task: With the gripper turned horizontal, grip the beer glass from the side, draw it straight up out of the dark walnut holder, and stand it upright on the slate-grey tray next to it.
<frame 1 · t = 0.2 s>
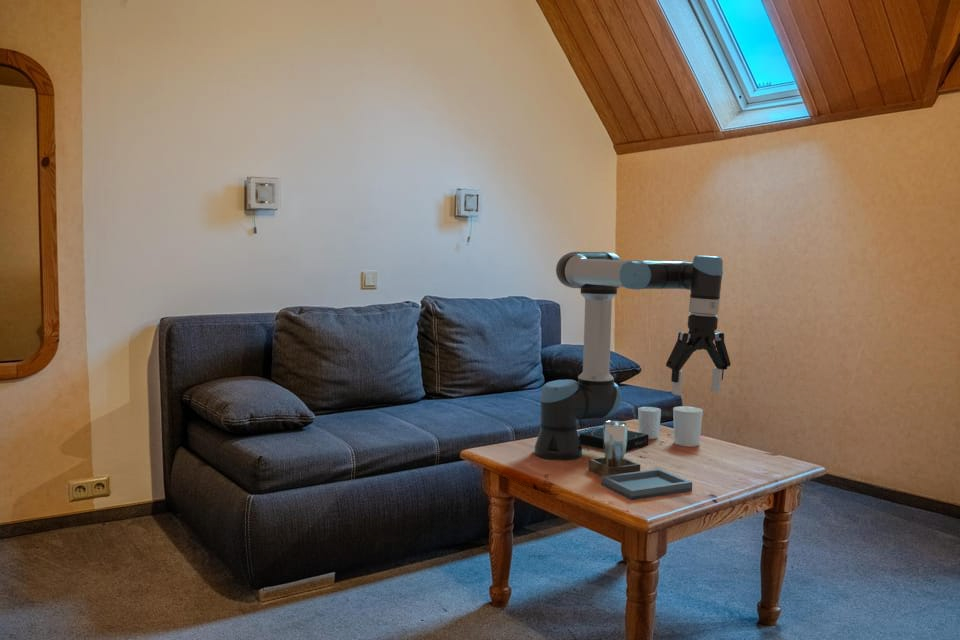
hand: (696, 393, 199), 27 cm above the table, tool pointing down, fingers open, 13 cm apart
slate tray: (646, 488, 204), on the table
candle holder: (686, 444, 254), on the table
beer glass: (614, 474, 218), resting in walnut holder
white cup: (648, 437, 264), on the table
walnut holder: (614, 473, 218), on the table
portable cd player: (612, 446, 252), on the table
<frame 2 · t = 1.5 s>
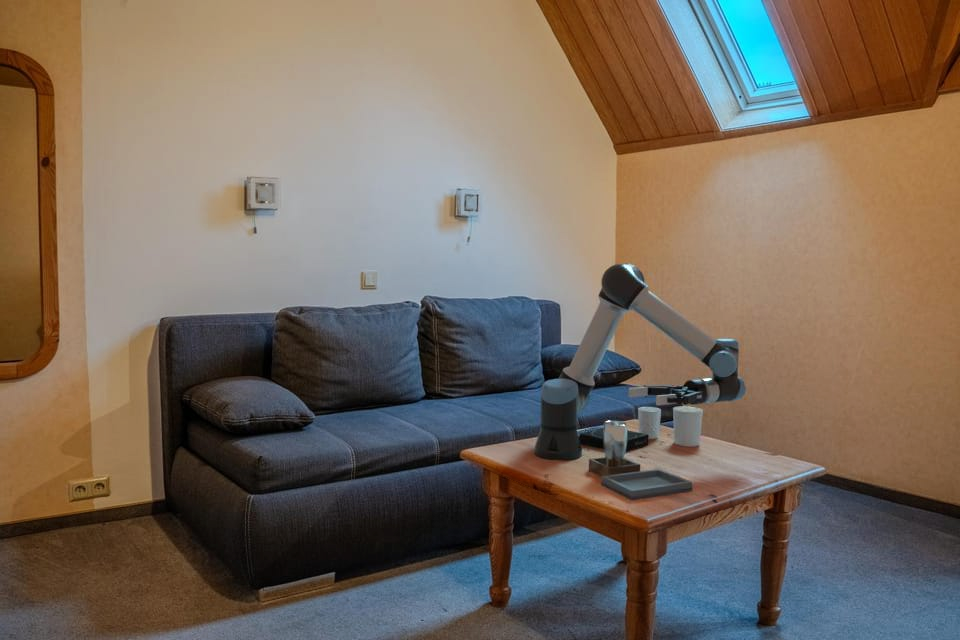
hand: (642, 396, 220), 22 cm above the table, tool horizontal, fingers open, 13 cm apart
nothing on the table moved.
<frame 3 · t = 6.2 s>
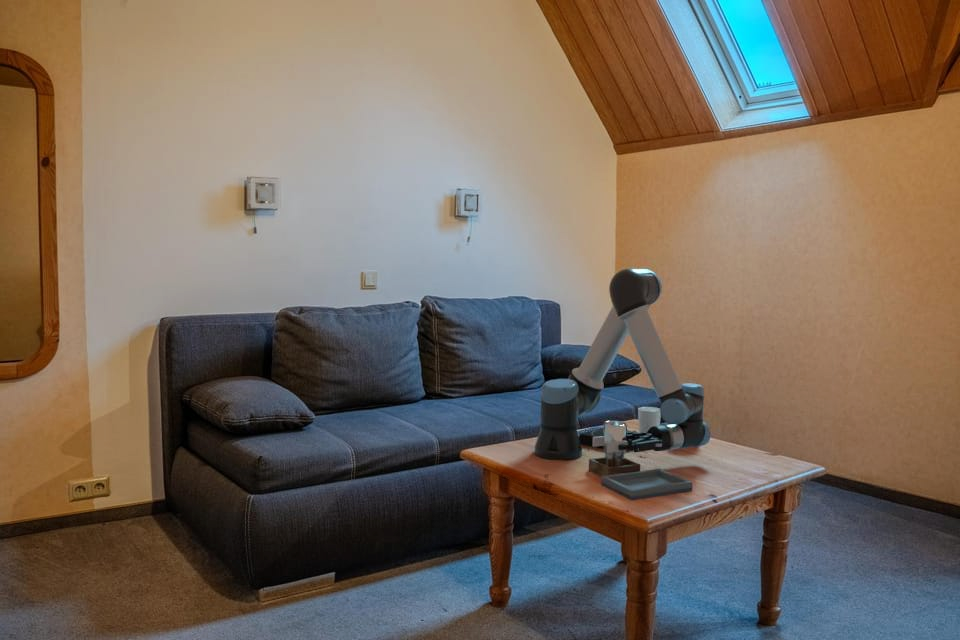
hand: (600, 444, 215), 9 cm above the table, tool horizontal, fingers closed on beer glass, 7 cm apart
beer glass: (614, 474, 218), resting in walnut holder, touching gripper
everything else where it was.
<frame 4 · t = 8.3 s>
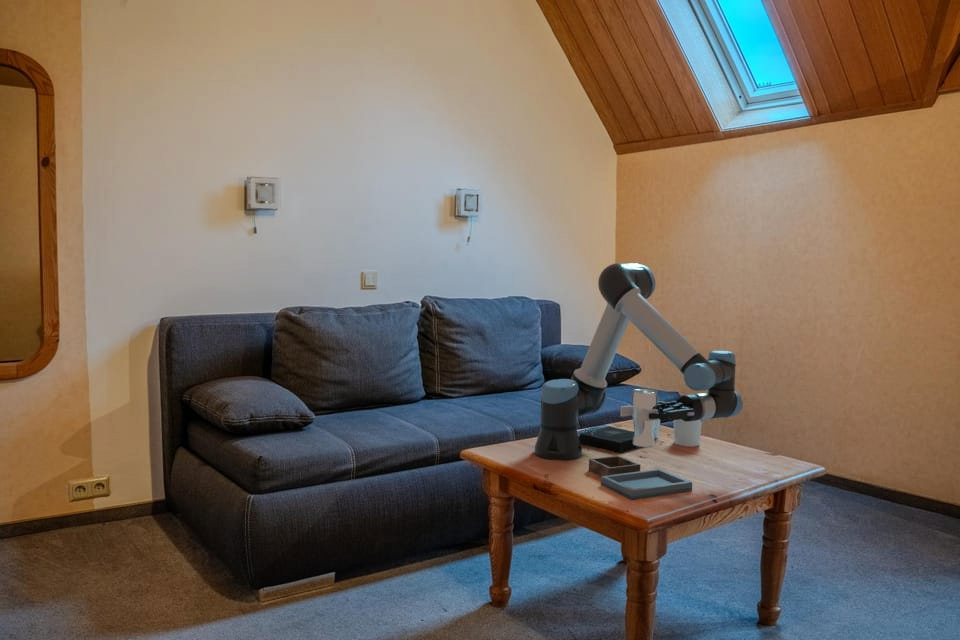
hand: (629, 414, 203), 20 cm above the table, tool horizontal, fingers closed on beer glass, 7 cm apart
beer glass: (643, 445, 206), point 11 cm above the table, touching gripper
everything else where it was.
when the fingers open (11 cm above the table, at t = 10.5 s): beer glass drops 1 cm, resting on slate tray.
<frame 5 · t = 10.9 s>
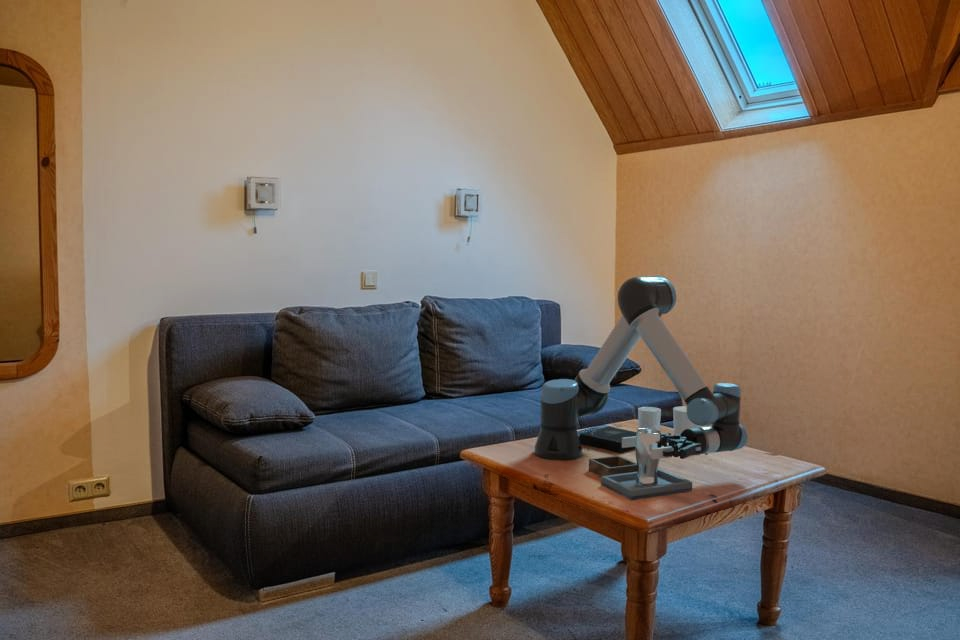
hand: (636, 448, 202), 11 cm above the table, tool horizontal, fingers open, 12 cm apart
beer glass: (646, 485, 204), point 1 cm above the table, touching slate tray
everything else where it was.
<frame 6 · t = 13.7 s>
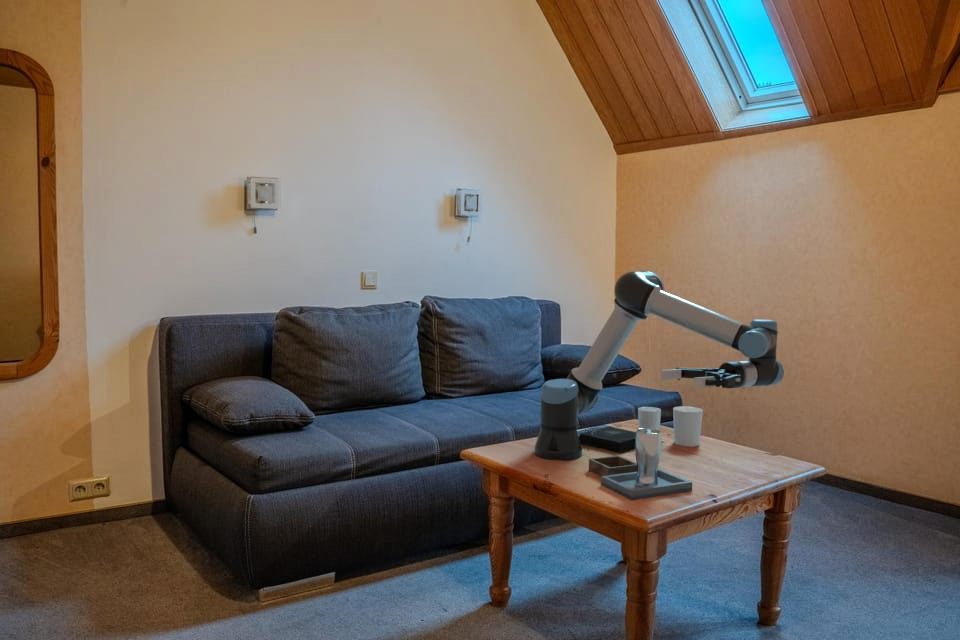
hand: (677, 378, 206), 30 cm above the table, tool horizontal, fingers open, 13 cm apart
nothing on the table moved.
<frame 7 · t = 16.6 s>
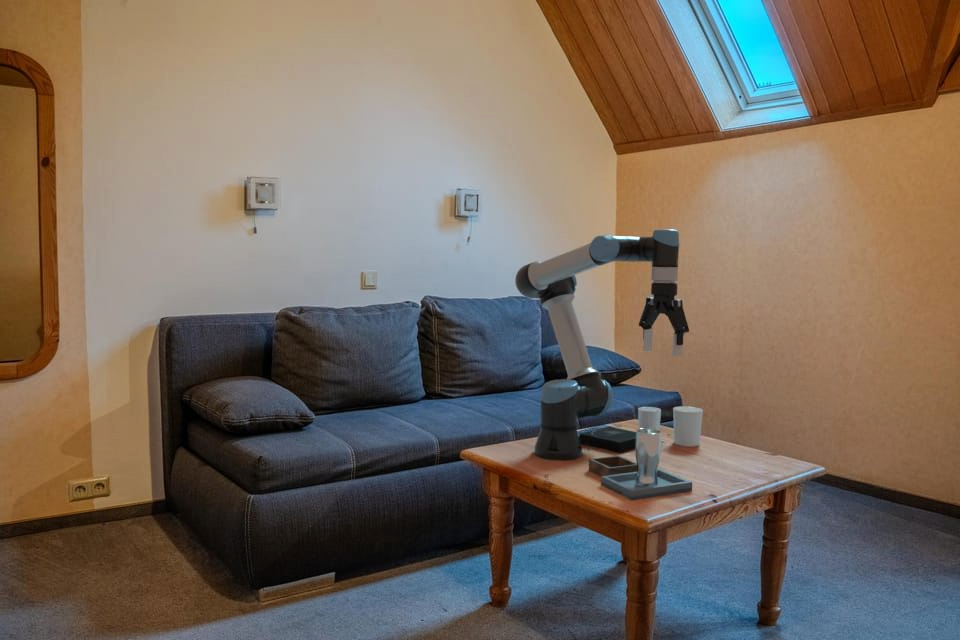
hand: (662, 353, 222), 35 cm above the table, tool pointing down, fingers open, 13 cm apart
nothing on the table moved.
at the end: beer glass inside the target area on the slate tray (0.2 cm from its centre), point 0.8 cm above the slate tray's base; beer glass tilted 0°; the gripper is holding nothing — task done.
